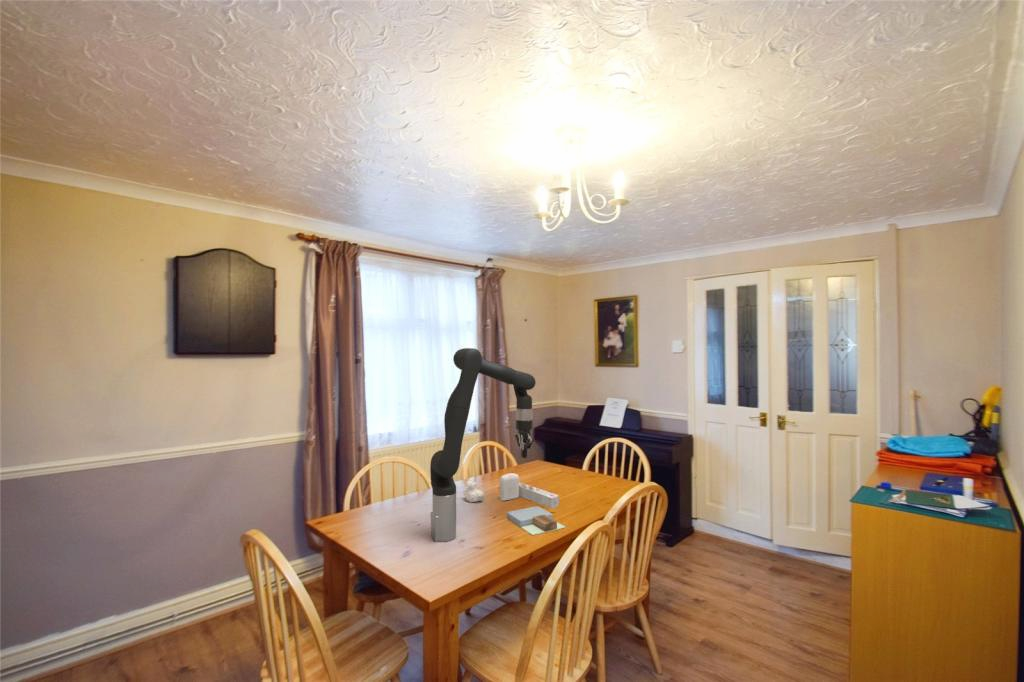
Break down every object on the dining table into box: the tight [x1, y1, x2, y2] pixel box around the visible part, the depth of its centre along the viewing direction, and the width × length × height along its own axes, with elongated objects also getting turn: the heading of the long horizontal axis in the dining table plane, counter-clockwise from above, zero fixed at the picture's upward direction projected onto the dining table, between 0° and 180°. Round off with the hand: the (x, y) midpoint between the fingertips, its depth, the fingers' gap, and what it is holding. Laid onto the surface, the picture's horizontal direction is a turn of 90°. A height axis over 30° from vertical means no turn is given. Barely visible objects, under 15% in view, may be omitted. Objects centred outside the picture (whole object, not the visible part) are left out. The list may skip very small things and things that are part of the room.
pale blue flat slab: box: [506, 505, 554, 528], centre depth 191 cm, size 16×12×2 cm
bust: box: [462, 480, 485, 503], centre depth 214 cm, size 12×8×11 cm
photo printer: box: [499, 472, 520, 502], centre depth 218 cm, size 10×4×12 cm, turn 123°
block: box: [533, 515, 558, 533], centre depth 181 cm, size 6×9×3 cm, turn 30°
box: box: [519, 482, 560, 510], centre depth 216 cm, size 27×5×6 cm, turn 40°
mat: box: [520, 521, 566, 536], centre depth 181 cm, size 16×9×1 cm, turn 119°
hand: (524, 457), depth 196 cm, fingers closed
